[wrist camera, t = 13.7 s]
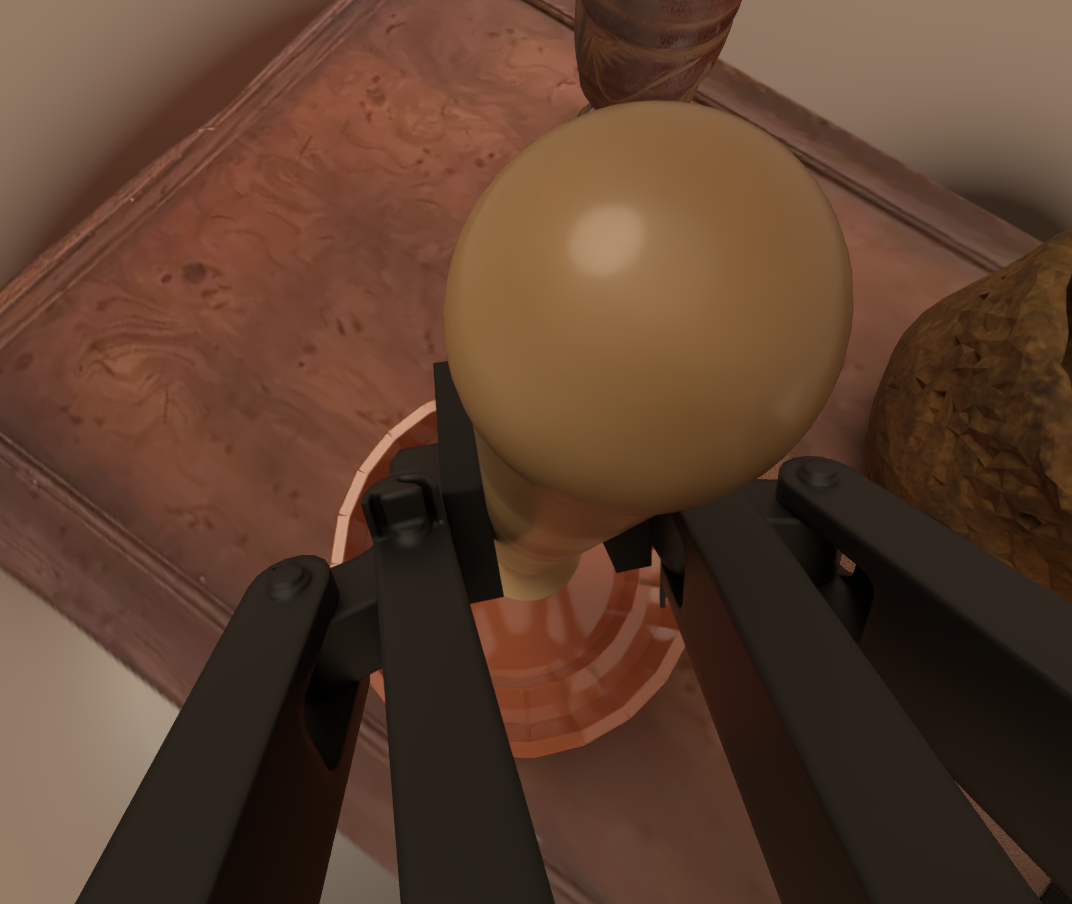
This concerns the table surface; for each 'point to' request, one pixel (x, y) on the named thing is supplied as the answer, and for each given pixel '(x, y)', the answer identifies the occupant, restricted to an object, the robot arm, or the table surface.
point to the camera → (1055, 896)
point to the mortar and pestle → (648, 48)
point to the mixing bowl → (547, 629)
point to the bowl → (988, 415)
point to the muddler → (639, 325)
